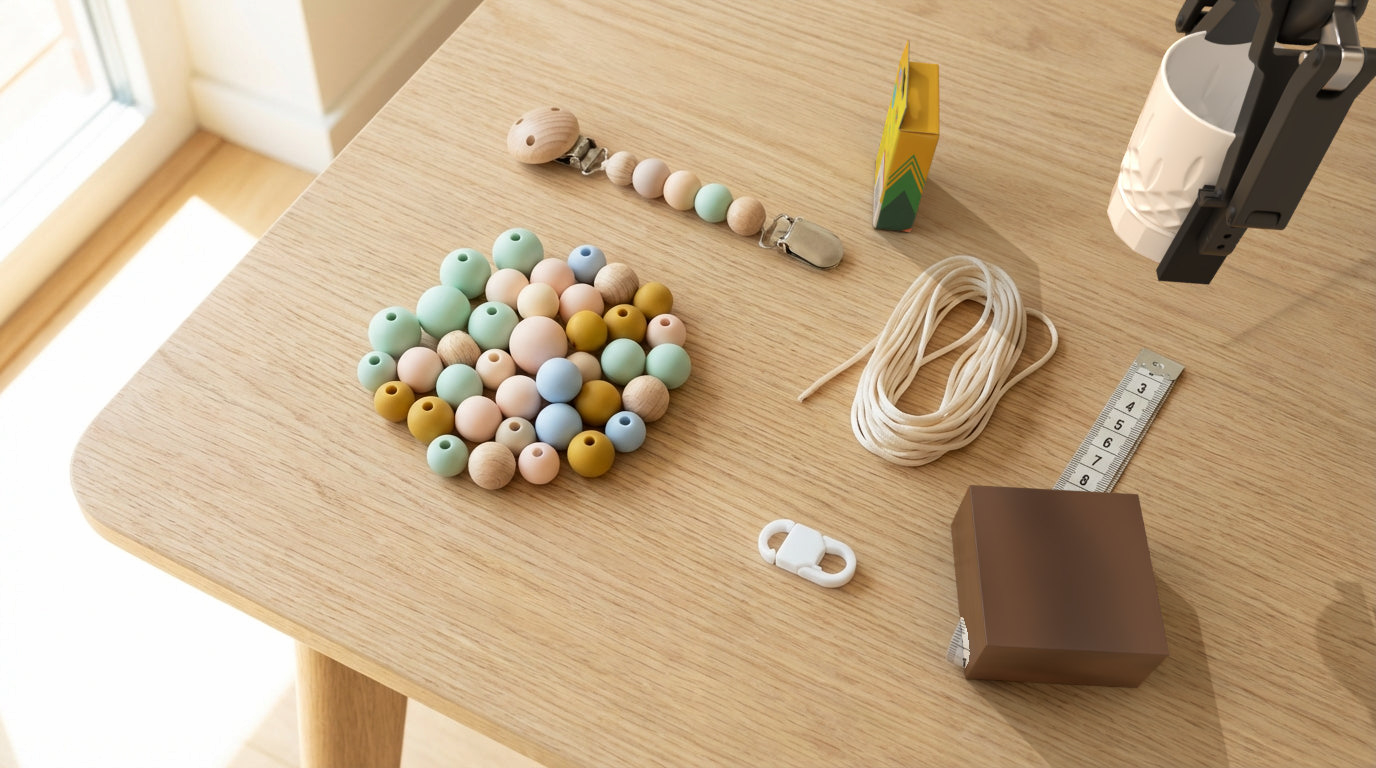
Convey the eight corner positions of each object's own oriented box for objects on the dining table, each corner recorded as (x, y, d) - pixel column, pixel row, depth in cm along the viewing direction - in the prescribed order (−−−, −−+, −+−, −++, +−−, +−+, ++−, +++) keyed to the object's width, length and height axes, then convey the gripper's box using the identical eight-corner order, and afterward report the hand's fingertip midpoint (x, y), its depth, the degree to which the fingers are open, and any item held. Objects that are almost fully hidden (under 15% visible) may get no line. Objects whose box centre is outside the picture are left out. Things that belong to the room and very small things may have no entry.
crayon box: (912, 235, 89) (946, 116, 79) (871, 230, 89) (901, 110, 79) (914, 162, 93) (947, 41, 83) (875, 157, 93) (903, 36, 84)
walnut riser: (1110, 532, 76) (1138, 493, 72) (1138, 688, 70) (1170, 655, 66) (950, 524, 76) (969, 484, 71) (964, 679, 70) (986, 645, 66)
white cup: (1270, 243, 67) (1361, 106, 58) (1165, 298, 64) (1245, 162, 56) (1169, 152, 70) (1242, 10, 62) (1066, 200, 68) (1128, 60, 59)
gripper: (1239, -308, 54) (1078, 86, 73) (1357, -14, 42) (1129, 365, 61) (1408, -295, 54) (1203, 96, 73) (1571, 3, 42) (1277, 376, 61)
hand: (1169, 218), depth 67 cm, fingers closed on white cup, 7 cm apart
